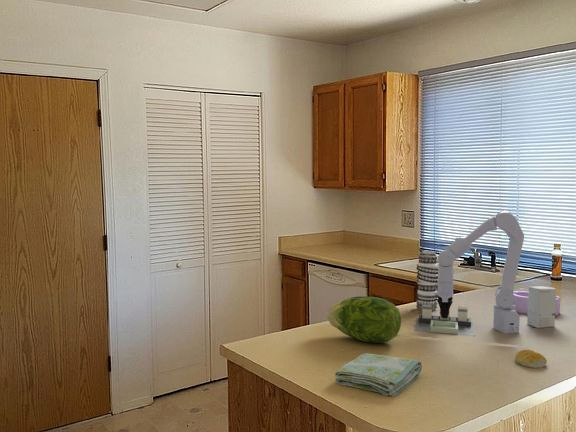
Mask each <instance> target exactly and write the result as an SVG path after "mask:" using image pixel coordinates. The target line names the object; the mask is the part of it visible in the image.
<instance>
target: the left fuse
mask: <svg viewBox="0 0 576 432" xmlns="http://www.w3.org/2000/svg"><path fill="white" fill-rule="evenodd" d="M421 311H422V314H421V315H422V318H429V319H432V316H433V315H432V313H433V311H432V305H425V304H423V308H422V310H421Z"/></svg>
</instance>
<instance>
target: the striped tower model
mask: <svg viewBox="0 0 576 432" xmlns="http://www.w3.org/2000/svg"><path fill="white" fill-rule="evenodd" d="M417 255H418V263H417V264H416V270H417V271H416V274H417V275H416V278H417V280H416V283H417V293H416V296H417V297H416V302H415V303H416V306H415V307H416V308H417V309H418V310H420V311H422V308H423V304H425V305H432V312H433V311H437V310H438V302H437V299H438V295H435V294H434V292H438V289H437V286H438V269H439V267H438V255H437V253H436V252H435V251H432V250H431V251H430V250H423V251H421V252H420V253H419V254H417Z"/></svg>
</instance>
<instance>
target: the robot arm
mask: <svg viewBox="0 0 576 432" xmlns="http://www.w3.org/2000/svg"><path fill="white" fill-rule="evenodd" d="M498 228H499V229H500V230H502V231H503V232H505V234H506V236H508V238H509V242H508V247H507V251H506V252H507V253H506V256H505V260H504V266H503V271H502V276H501V279H500V284H499V287H498V288H497V290H496V291H495V303H494V304H493V323H492V324H493V325H492V329H494V330H496V331H499V332H501V333H502V334H516V333H517V334H518V333H519V334H520V321H521V319H520V318H521V317H520V314H519V312H516V311H515V305H513V304H514V296H513V291H515V289H514V288H515V282H516V278H517V273H518V268H519V263H520V258H521V254H522V250H523V244H524V240H525V234H524V231H523V230H522V228H521V225H520V224H519V222H518V219H517V218H516V216H514V215H513V213H511V212H510V211H507V210H501V211H499V212H497V213H496V214H494V215H493V216H491V217H490V218H488V219H487V220H485V221H483V222H482V223H481V224H480V225H478V226H477V228H475V229H474V230H473V231H471V232H470V233H469V234H467V236H460V237H456V238H455V239H454V241H453V242H452V243H451V244H449V245H448V246H447V245H446V246H445V247H444V250H443V249H442V250H441V251H440V253H439V254H438V255H437V263H438V264H437V268H438V271H437V272H438V274H437V277H438V279H437V281H438V282H437V283H438V284H437V292H434V294H435V295H437V301H436V302H437V305H438V307H439V312H440V311H441V317H442V318H448V314H449V315H450V308H451V306H452V304H453V301H454V273H455V271H454V262H455V260H456V259H457V260H458V259H459V258H460V257H462V256H463V255H465V254H466V253H468V251H470V250H471V249H472V244H473V243H474V242H476V241H477V240H479V239H480V238H481V237H482V236H484V235H485V234H486V233H488V232H490V231H497V230H498Z"/></svg>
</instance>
